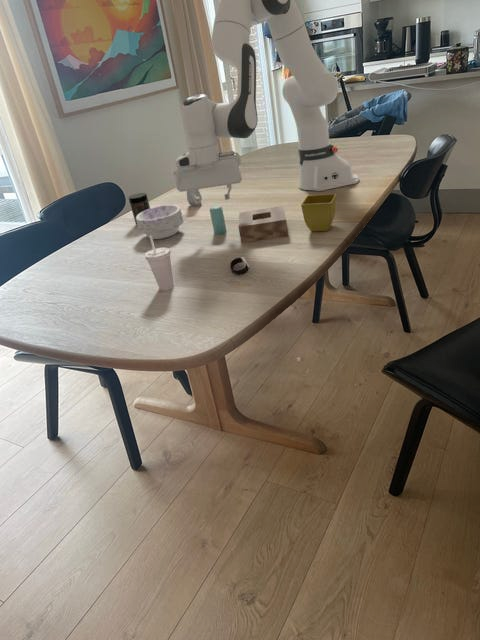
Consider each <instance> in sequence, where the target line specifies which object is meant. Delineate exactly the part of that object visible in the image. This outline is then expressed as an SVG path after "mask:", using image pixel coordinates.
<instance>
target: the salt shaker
mask: <svg viewBox="0 0 480 640" xmlns="http://www.w3.org/2000/svg"><path fill="white" fill-rule="evenodd" d="M194 194H195V195H196V196H197V197H200V204H195V200H194V198H193V197H192V196H191V195H190V193H189V191H186V200H187V203H188V205H189V206H190V207H198V206H201V204H202V200H203V197H202V194H201V192H200V189H196V190H195V192H194Z"/></svg>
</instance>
